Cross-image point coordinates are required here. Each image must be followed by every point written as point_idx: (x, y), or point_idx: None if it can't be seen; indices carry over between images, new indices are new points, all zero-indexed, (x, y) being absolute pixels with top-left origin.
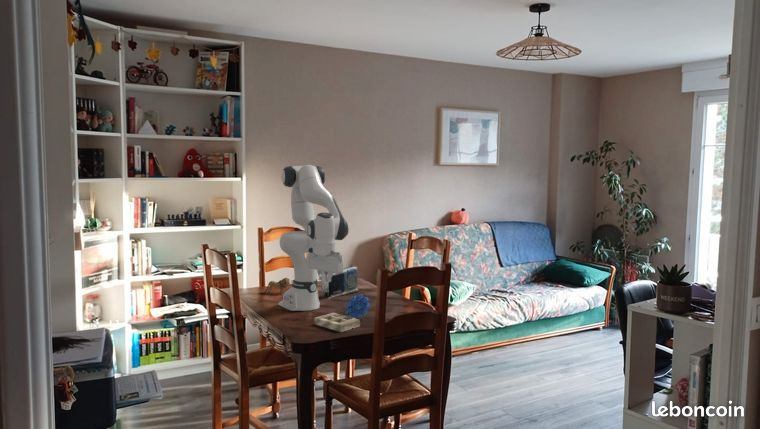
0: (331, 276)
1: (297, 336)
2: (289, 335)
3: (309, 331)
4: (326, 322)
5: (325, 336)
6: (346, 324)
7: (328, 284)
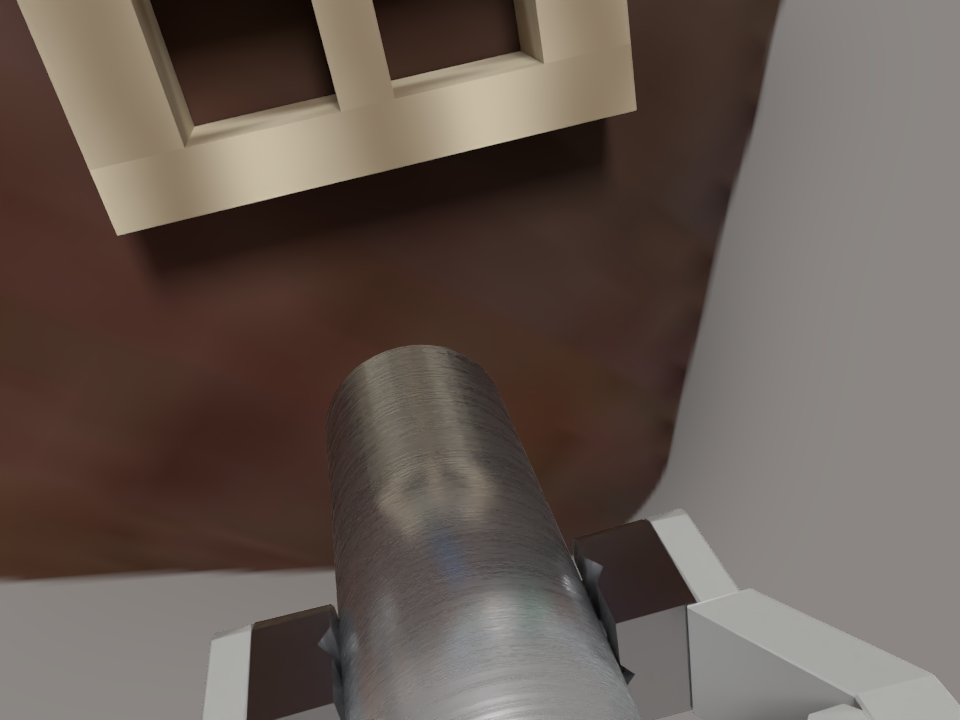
0: (810, 640)
1: None
2: None
3: None
4: (360, 172)
5: (611, 310)
6: (624, 3)
7: (515, 460)
